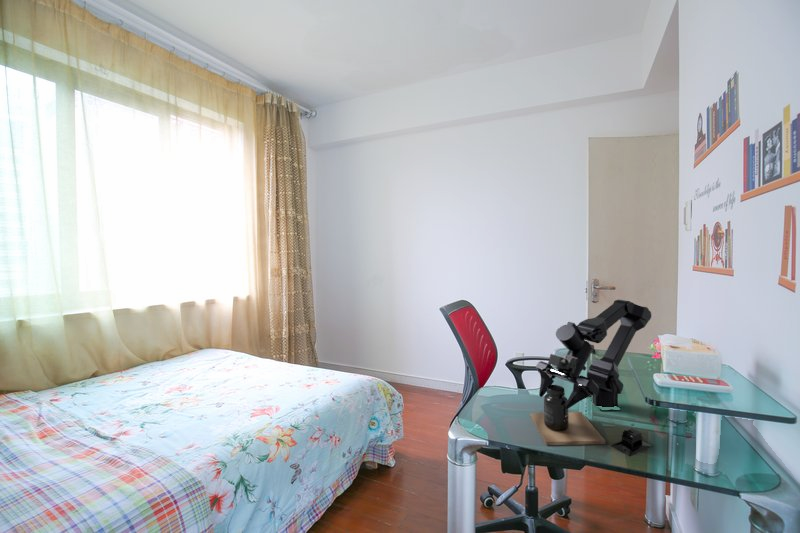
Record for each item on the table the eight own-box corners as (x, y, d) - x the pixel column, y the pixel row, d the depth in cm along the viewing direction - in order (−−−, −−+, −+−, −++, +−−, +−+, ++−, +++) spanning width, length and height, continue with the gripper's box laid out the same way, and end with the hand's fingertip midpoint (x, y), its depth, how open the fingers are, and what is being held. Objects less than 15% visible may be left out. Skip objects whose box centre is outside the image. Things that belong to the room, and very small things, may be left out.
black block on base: (635, 435, 107) (635, 420, 107) (661, 448, 101) (661, 433, 100) (604, 447, 103) (604, 432, 102) (629, 462, 96) (629, 446, 96)
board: (581, 414, 119) (581, 411, 119) (605, 443, 103) (605, 440, 103) (530, 416, 121) (530, 413, 120) (546, 445, 105) (546, 441, 105)
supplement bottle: (572, 432, 108) (571, 393, 107) (547, 432, 109) (547, 393, 108) (564, 419, 115) (563, 382, 114) (541, 419, 116) (540, 383, 115)
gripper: (538, 336, 119) (514, 378, 115) (592, 352, 103) (566, 401, 99) (556, 354, 124) (533, 395, 120) (610, 372, 107) (586, 420, 104)
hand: (552, 401), depth 111 cm, fingers open, 9 cm apart
